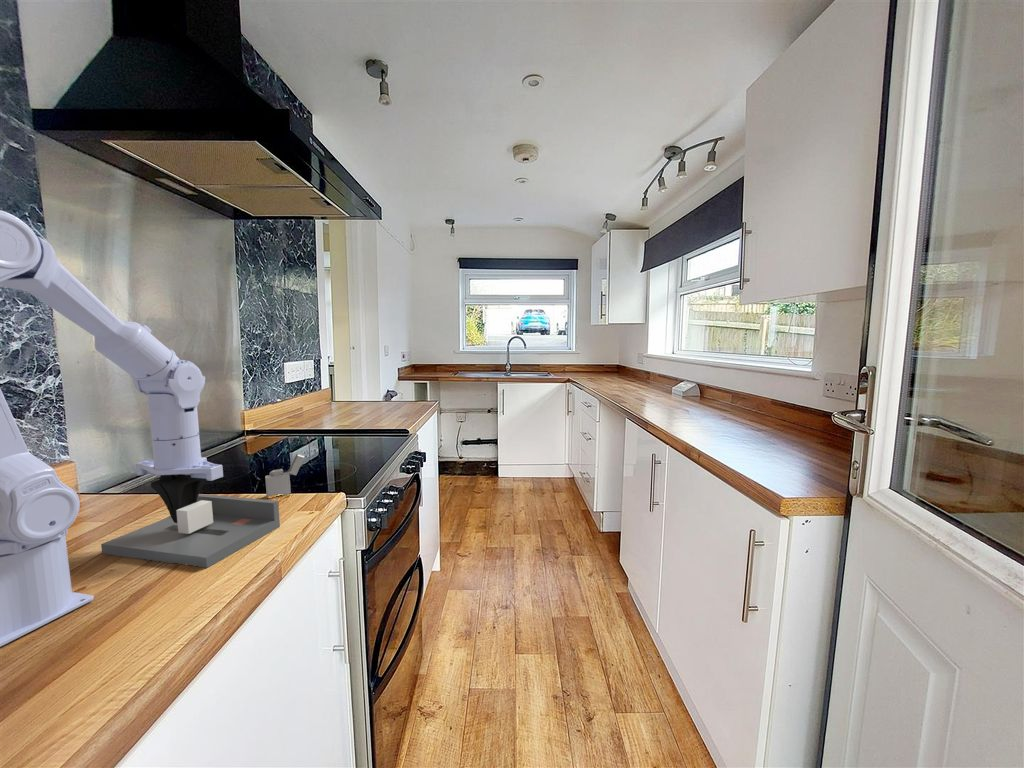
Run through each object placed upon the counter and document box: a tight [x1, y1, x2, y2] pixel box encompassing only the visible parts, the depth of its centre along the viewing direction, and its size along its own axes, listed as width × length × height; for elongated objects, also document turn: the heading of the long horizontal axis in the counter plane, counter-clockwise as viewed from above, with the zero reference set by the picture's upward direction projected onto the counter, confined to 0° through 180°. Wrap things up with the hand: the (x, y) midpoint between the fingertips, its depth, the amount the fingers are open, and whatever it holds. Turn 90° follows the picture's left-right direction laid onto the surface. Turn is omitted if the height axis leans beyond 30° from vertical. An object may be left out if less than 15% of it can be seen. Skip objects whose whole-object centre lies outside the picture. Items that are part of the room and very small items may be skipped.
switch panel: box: [100, 493, 281, 569], centre depth 63 cm, size 13×19×4 cm
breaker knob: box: [176, 500, 213, 534], centre depth 63 cm, size 4×2×4 cm, turn 168°
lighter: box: [264, 452, 305, 498], centre depth 83 cm, size 7×2×8 cm, turn 127°
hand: (183, 520), depth 64 cm, fingers closed
